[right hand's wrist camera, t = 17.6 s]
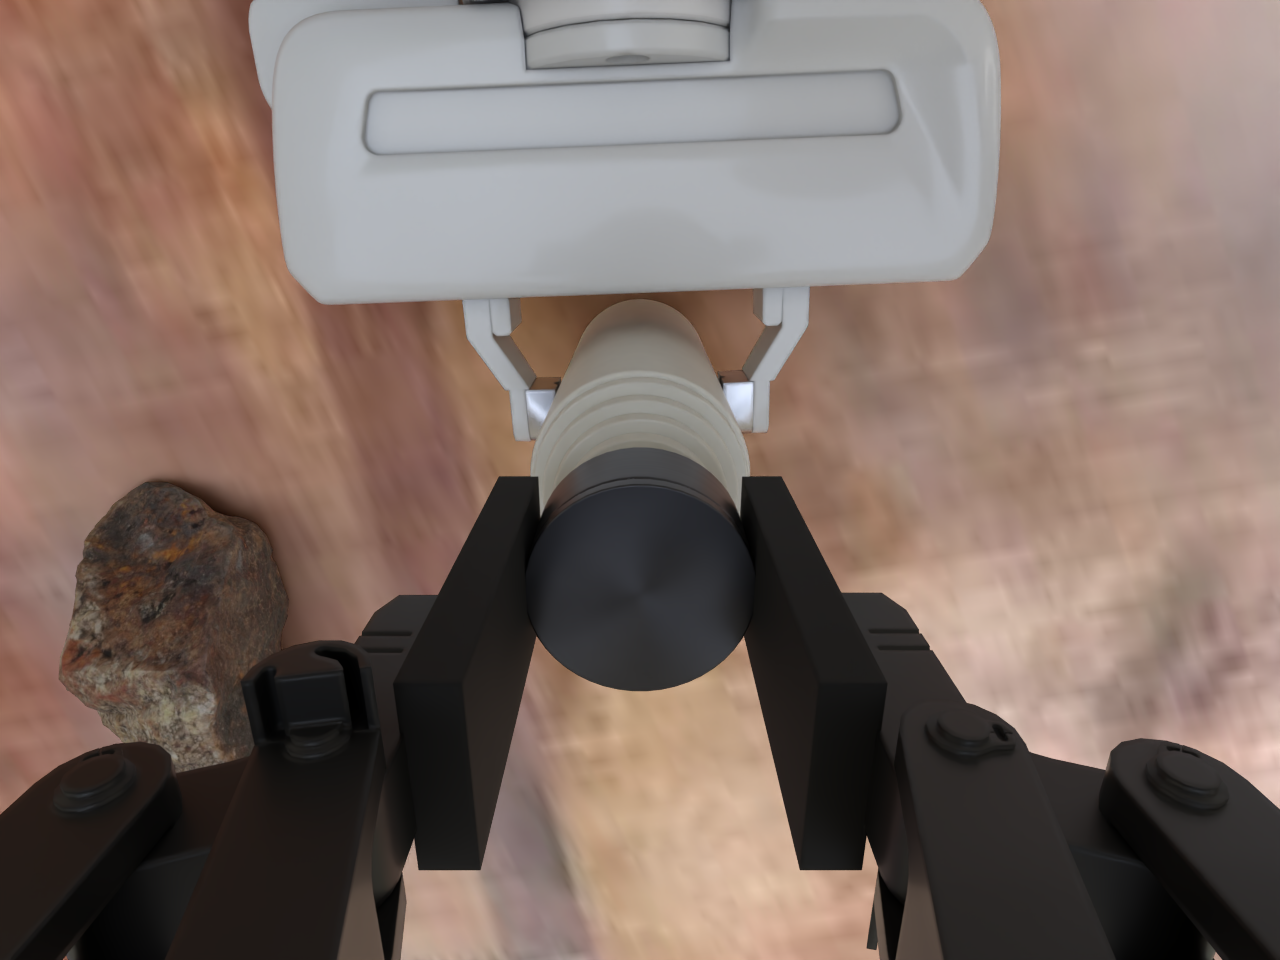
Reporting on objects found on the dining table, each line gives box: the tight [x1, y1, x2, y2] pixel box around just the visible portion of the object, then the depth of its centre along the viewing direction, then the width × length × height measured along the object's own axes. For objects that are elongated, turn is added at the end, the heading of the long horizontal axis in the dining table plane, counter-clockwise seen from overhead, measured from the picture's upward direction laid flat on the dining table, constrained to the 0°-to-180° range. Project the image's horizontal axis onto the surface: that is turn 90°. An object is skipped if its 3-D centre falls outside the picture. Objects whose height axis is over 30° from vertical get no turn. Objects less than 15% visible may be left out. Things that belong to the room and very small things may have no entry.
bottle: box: [530, 299, 750, 517], centre depth 22 cm, size 5×5×19 cm
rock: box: [59, 482, 289, 773], centre depth 31 cm, size 14×9×10 cm
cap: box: [525, 447, 756, 691], centre depth 14 cm, size 4×4×2 cm
